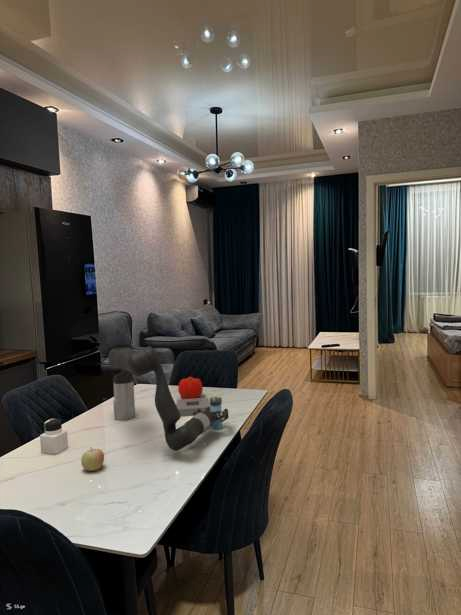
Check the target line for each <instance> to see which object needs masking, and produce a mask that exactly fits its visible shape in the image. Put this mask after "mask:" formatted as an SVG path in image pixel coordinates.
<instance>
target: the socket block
mask: <svg viewBox="0 0 461 615" xmlns="http://www.w3.org/2000/svg"><path fill="white" fill-rule="evenodd" d="M175 404H176V406H177V408H178V410H179V412H180V415H181V417H193V413H194V412H195V411H196V410H197V409H200V410H202V409H205V408H207V407H210V408H211V405H210V398H209V397H197V398H194V399H184V398H180V399H176V402H175ZM209 412H211V410H210V411H209Z"/></svg>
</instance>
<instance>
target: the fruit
mask: <svg viewBox="0 0 461 615" xmlns="http://www.w3.org/2000/svg"><path fill="white" fill-rule="evenodd" d="M104 460H105V454H104V451H103V450H102V449H100V448H92V447H90V449H88V450H86V451H84V452H83V453H82V456H81V459H80V462H81V466H82V468H83V469H84V470H86V471H91V472H93V471H97V470H100V469H101V467H102V466H103V464H104Z"/></svg>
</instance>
